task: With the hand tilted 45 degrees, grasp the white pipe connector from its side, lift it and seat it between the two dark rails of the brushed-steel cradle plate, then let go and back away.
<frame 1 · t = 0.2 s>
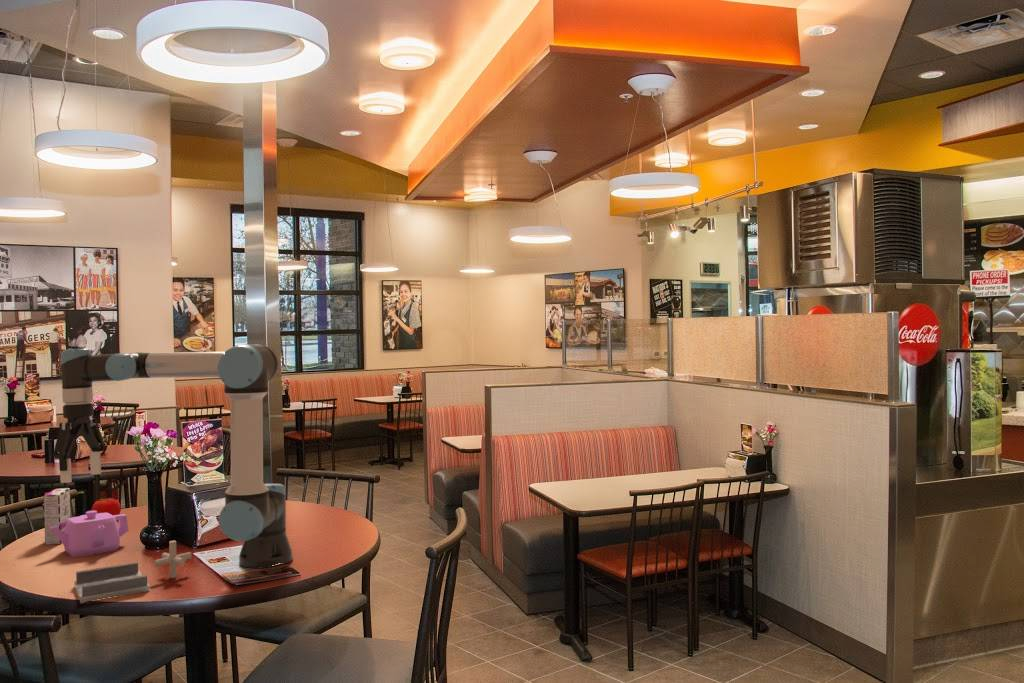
hand: (81, 478, 218), 27 cm above the table, tool pointing down, fingers open, 13 cm apart
cradle plate: (111, 588, 206), on the table
candy bar box: (58, 541, 256), on the table
tomato: (105, 521, 283), on the table
teakettle: (90, 551, 243), on the table
pipe connector: (173, 577, 215), on the table
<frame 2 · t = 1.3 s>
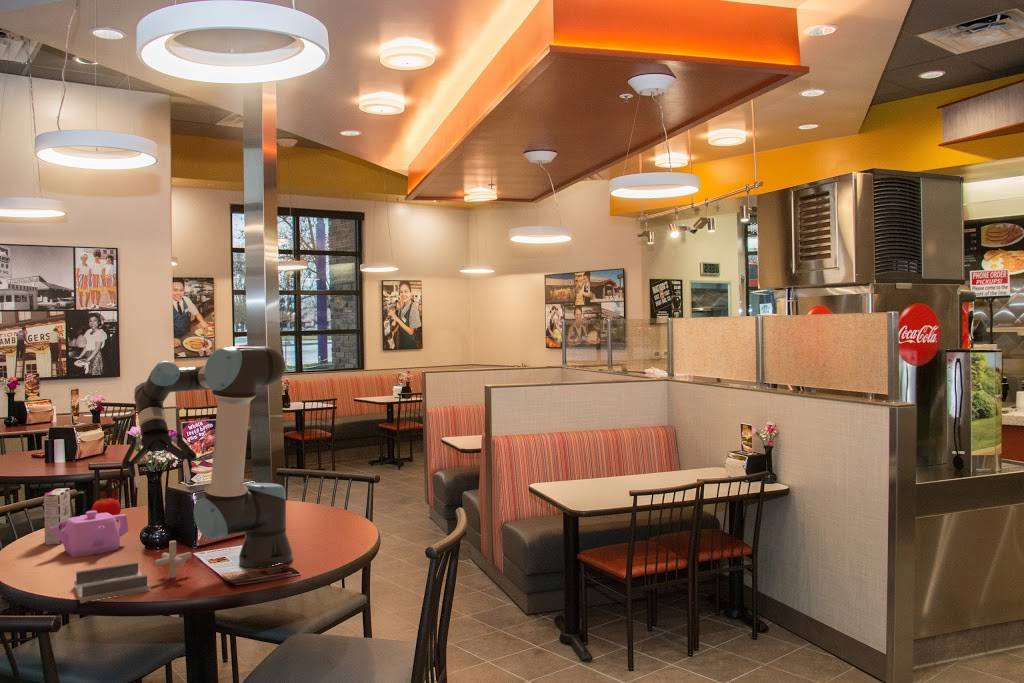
hand: (163, 482, 224), 25 cm above the table, tool tilted 45°, fingers open, 13 cm apart
nothing on the table moved.
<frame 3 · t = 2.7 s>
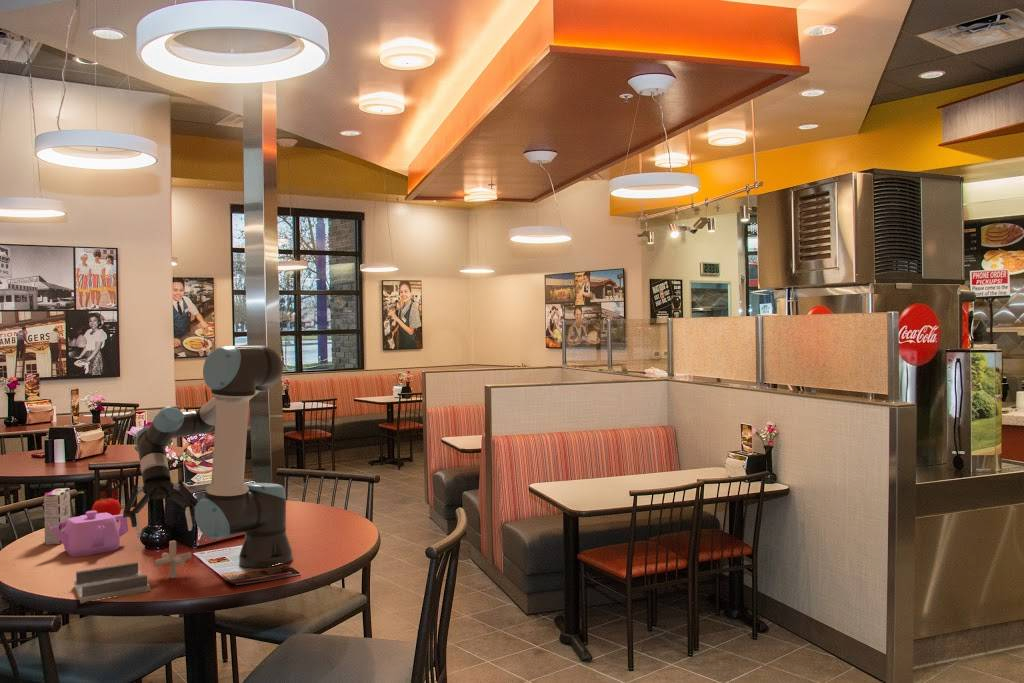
hand: (165, 531, 221), 11 cm above the table, tool tilted 45°, fingers open, 13 cm apart
nothing on the table moved.
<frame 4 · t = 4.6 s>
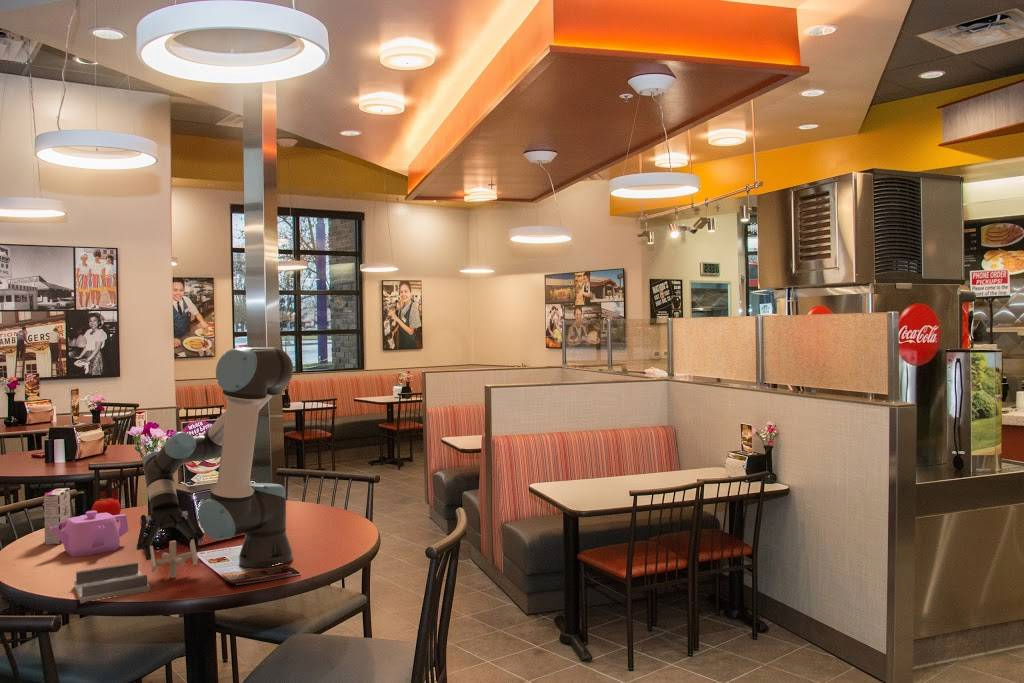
hand: (175, 565, 213), 4 cm above the table, tool tilted 45°, fingers closed on pipe connector, 10 cm apart
pipe connector: (173, 577, 215), on the table, touching gripper
everything else where it was.
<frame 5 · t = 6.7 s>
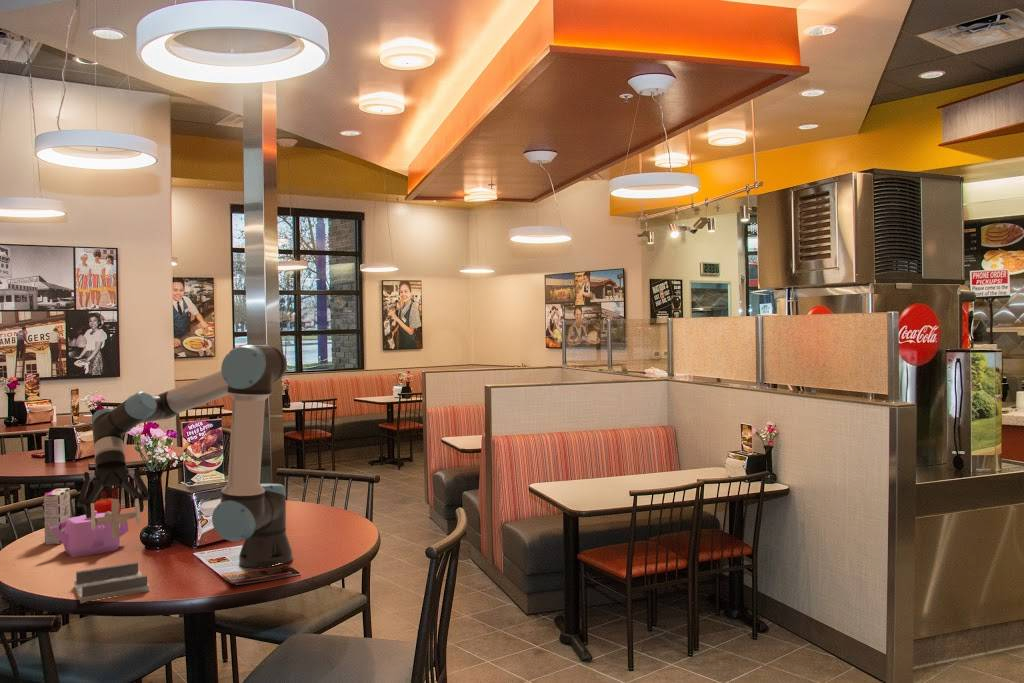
hand: (116, 524, 205), 17 cm above the table, tool tilted 45°, fingers closed on pipe connector, 10 cm apart
pipe connector: (115, 537, 207), point 13 cm above the table, touching gripper
everything else where it was.
when the fingers open (7 cm above the table, at t = 9.3 s): pipe connector drops 1 cm, resting on cradle plate.
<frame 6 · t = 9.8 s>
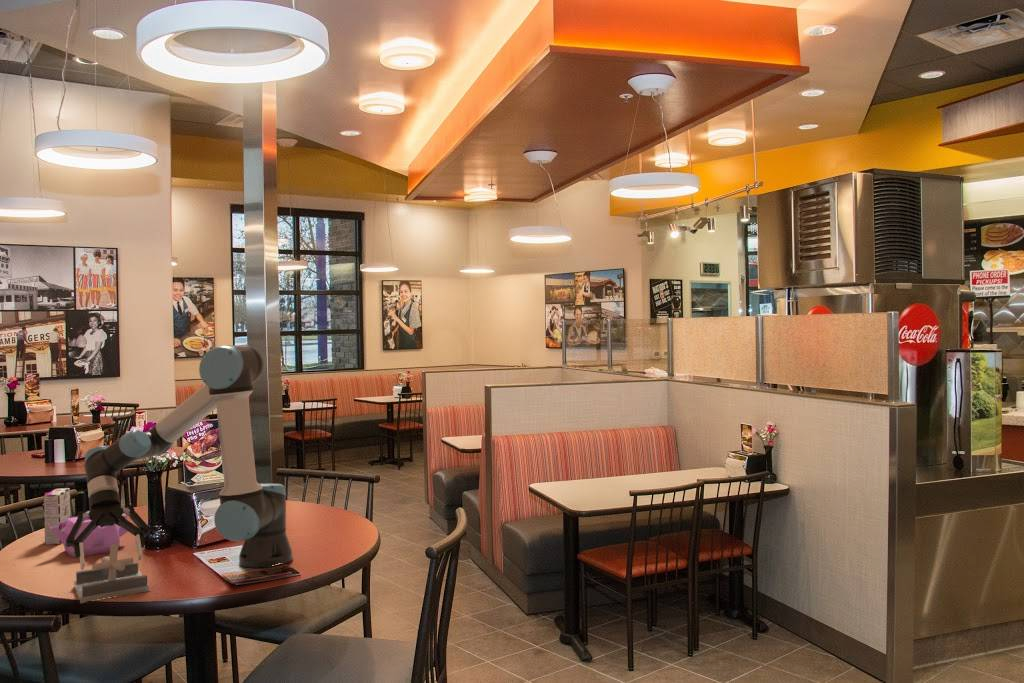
hand: (112, 562, 204), 8 cm above the table, tool tilted 45°, fingers open, 13 cm apart
pipe connector: (111, 583, 206), point 1 cm above the table, touching cradle plate
everything else where it was.
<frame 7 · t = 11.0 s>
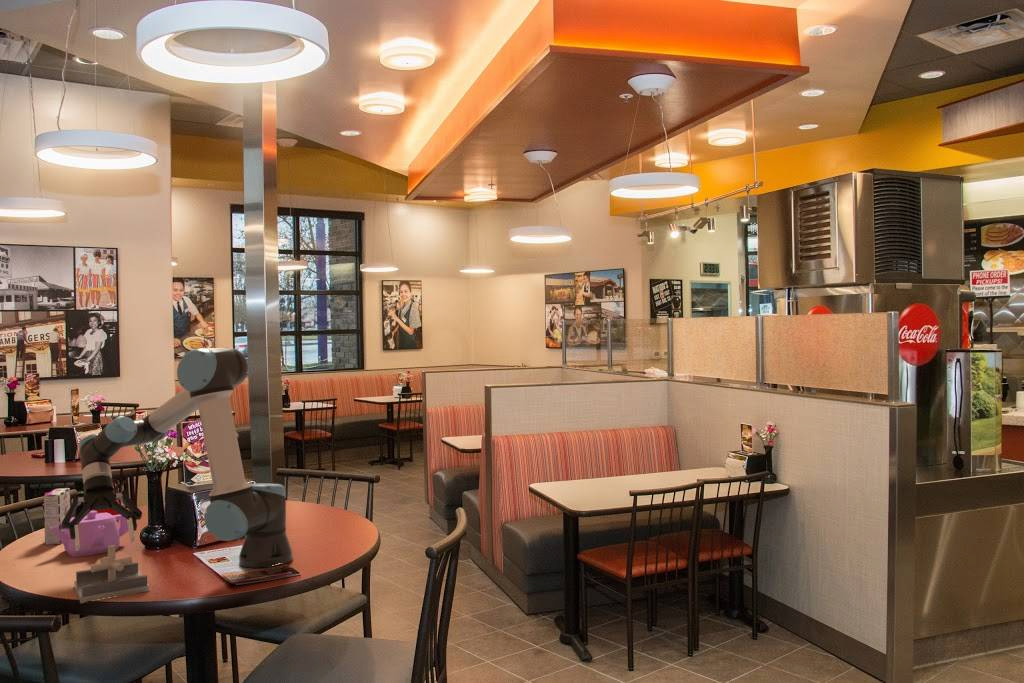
hand: (105, 544, 214), 10 cm above the table, tool tilted 45°, fingers open, 13 cm apart
nothing on the table moved.
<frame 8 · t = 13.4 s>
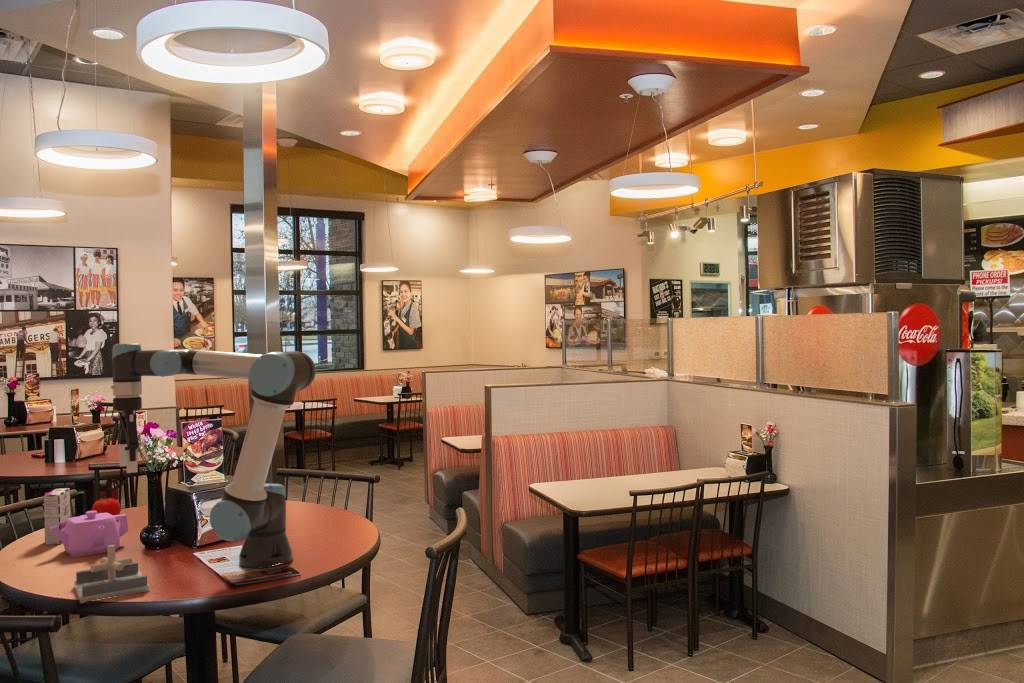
hand: (128, 469, 225), 29 cm above the table, tool pointing down, fingers open, 13 cm apart
nothing on the table moved.
at the end: pipe connector inside the target area on the cradle plate (0.2 cm from its centre), point 1.3 cm above the cradle plate's base; the gripper is holding nothing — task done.
